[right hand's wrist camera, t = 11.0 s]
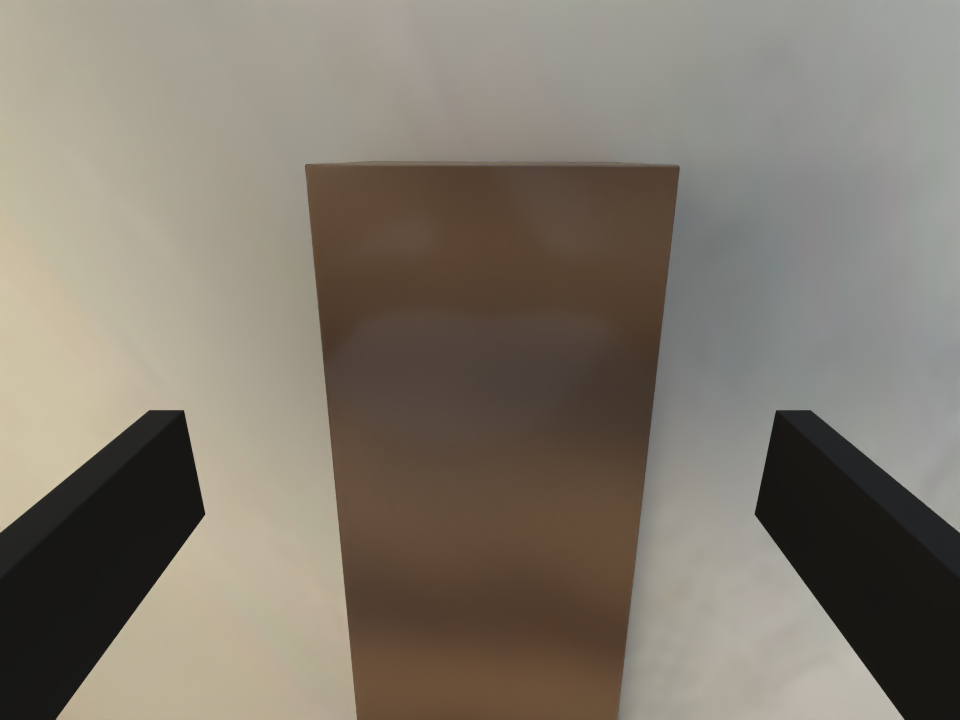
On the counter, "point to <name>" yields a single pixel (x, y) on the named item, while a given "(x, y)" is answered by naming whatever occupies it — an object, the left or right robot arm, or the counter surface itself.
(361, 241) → the thick board
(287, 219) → the counter surface
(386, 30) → the counter surface
